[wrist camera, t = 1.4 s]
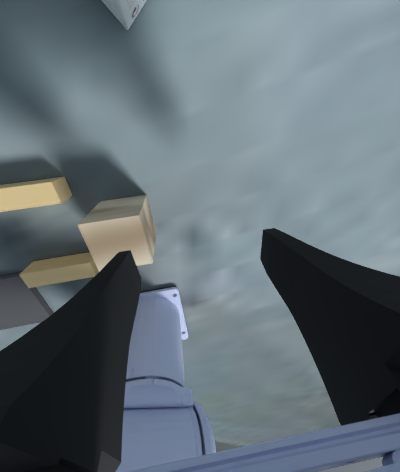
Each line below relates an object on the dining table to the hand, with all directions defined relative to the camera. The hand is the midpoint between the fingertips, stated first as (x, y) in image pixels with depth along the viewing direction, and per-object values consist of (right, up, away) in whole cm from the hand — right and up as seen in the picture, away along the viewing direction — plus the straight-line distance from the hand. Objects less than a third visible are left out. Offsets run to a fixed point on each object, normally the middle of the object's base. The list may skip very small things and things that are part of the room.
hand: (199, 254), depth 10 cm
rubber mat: (-20, -6, +9) cm, 23 cm away
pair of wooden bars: (-13, +1, +7) cm, 15 cm away
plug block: (-7, +3, +7) cm, 10 cm away
